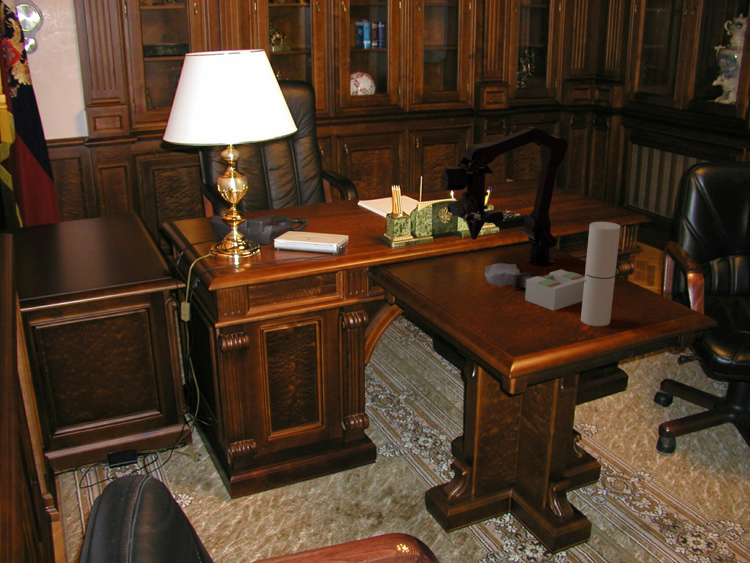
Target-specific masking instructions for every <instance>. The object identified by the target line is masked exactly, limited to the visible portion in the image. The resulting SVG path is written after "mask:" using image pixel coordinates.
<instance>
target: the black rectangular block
mask: <svg viewBox="0 0 750 563" xmlns="http://www.w3.org/2000/svg"><path fill="white" fill-rule="evenodd" d="M533 273H534V272H533V270H527V271H523V272H520V273H519V274H516V275H513V285H512V289H515V290H516V289H519V288H522V287H523V288H525V289H526V280H527V279H529V278H533V277H534V276H533ZM540 277H542V278H545V279H552V275H551V274H550V273H549V274H546V275H541V276H540Z"/></svg>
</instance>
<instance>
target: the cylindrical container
mask: <svg viewBox="0 0 750 563" xmlns="http://www.w3.org/2000/svg"><path fill="white" fill-rule="evenodd" d="M588 230H589V231H588V241H587V251H586V259H585V260H586V261H585V269H584V270H585V271H584V272H585V273H584V277H585V281H584V291H583V301H581V302H582V303H581V304H582V306H581V313H580V321H581V322H582V323H583V324H585V325H589V326H592V327H605V326H608V325H609V324H611V316H612V307H613V300H614V298H613V297H614V289H615V288H614V287H615V278H616V271H617V260H618V254H619V252H618V251H619V241H620V234H621V225H620V224H618V223H614V222H610V221H595V222H594V221H593V222H591V223H590V224H589V229H588Z"/></svg>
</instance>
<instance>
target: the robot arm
mask: <svg viewBox="0 0 750 563" xmlns="http://www.w3.org/2000/svg"><path fill="white" fill-rule="evenodd" d="M530 143H531V144H532V143H533V144H535V145H537V146H539V150H540V151H539V156H540V160H541V170H540V175H539V179H538V184H537V189H536V193H535V194H536V195H535V200H534V205H533V210H532V211H531V212H530V214H529V215H528V214H525V215H524V221H523V222H524V223H523V224H522V228H523V233H524V234H525V236H527V238H528V241H529V242H531V245H530V247H531V248H530V250H529V252H530V253H529V259H526V263H530V264H533V265H537V266H539V267H544V266H548V265H552V264H555V260H552V251H553V248H554V247H556V245H557V242H558V239H557V238H556V237H555V236H554V235H553V234H552V233H551V229H552V223H551V218H550V209H551V203H552V199H553V195H554V189H555V185H556V180H557V175H558V169H559V167H560V166H561V164H562V163H563V162H564V160H565V158H566V156H567V152H568V150H569V143H568V142H567V140H566V139H565V138H563V137H560V136H557V135H552V134H549V133H547V132H545V131H543V130H541V129H540V128H538V127H534V126H532V125H531V126H527V127H526V128H524V129H522V130H519V131H517V132H513V133H511V134H509V135H506V136H504V137H502V138H499V139H496V140H494V141H492V142H491V141H490V142H482V143H476V144H471V145H469V146H467V147H466V148H465V149H466V150H465V151H464V155H463V157H462V158H461V159H460V161H459V162H458V164H457V165H456V167H449V166H448V167H447V166H446V167H444V168H443V171H442V173H441V177H440V187H441V189H442V191H444V192H450V191H451V192H452V191H463V190H464V189H465V191H463V192H462V195H461V196H462V197H461V198H459V199H457V200H455V201H453V202H449V203H448V205H447V213H451V215H452V216H453V217H458V218H460V219H462V220H464V222H465V223H466V225H467V228H468V231H469V234H470V238H471V240H477V238H478V236H479V234H480V232H481V231H482V229H483V227H484V225H485V224H494V223H499V222H503V221H504V216H505V215H504V214H505V213H503V211H501V210H498V209H494V208H493V209H489V210H488V207H489V206H488V205H487V204H486V197H488V196H489V191H486V187H487V186H486V185H487V174H493V173H494V171H493V170H492V169H491V168H490V167H489V164H491V163H493V162H494V161H495V160H496V159H497V158H498V157H499V156H502V155H504V154H506V153H509V152H512V151H513V150H516V149H518V148H521V147H524V146H527V145H529V144H530Z"/></svg>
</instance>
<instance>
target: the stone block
mask: <svg viewBox="0 0 750 563" xmlns="http://www.w3.org/2000/svg"><path fill="white" fill-rule="evenodd" d="M519 273H521V272H520V269H519V268H518V267H517V263H504V262H503V263H502V262H501V263H500V262H499V263H494V264H490V265H487V266H485V271H484V276H485V279H486V282H487V283H488V284H489V285H491V286H501V287H502V286H504V287H505V286H513V275H516V274H519Z"/></svg>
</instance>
